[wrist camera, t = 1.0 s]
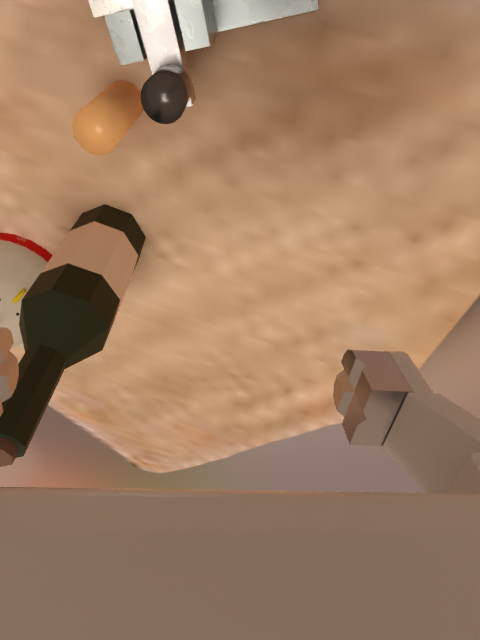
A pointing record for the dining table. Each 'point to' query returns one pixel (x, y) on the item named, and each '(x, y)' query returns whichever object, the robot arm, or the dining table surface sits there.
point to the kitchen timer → (17, 278)
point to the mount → (192, 20)
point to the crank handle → (164, 61)
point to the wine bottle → (68, 315)
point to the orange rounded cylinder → (107, 118)
